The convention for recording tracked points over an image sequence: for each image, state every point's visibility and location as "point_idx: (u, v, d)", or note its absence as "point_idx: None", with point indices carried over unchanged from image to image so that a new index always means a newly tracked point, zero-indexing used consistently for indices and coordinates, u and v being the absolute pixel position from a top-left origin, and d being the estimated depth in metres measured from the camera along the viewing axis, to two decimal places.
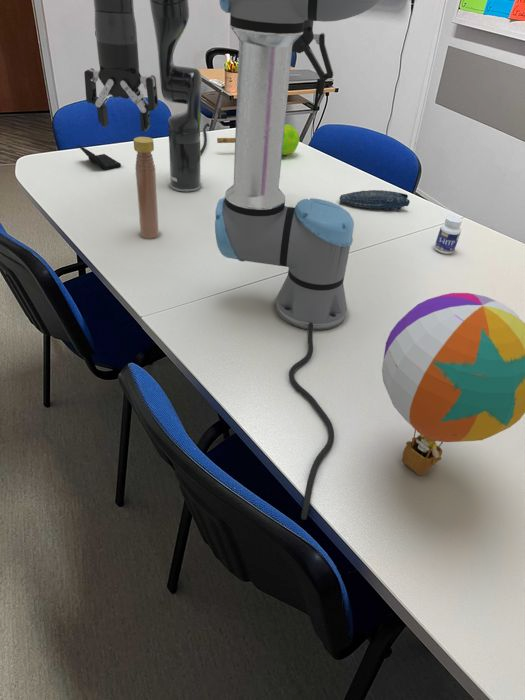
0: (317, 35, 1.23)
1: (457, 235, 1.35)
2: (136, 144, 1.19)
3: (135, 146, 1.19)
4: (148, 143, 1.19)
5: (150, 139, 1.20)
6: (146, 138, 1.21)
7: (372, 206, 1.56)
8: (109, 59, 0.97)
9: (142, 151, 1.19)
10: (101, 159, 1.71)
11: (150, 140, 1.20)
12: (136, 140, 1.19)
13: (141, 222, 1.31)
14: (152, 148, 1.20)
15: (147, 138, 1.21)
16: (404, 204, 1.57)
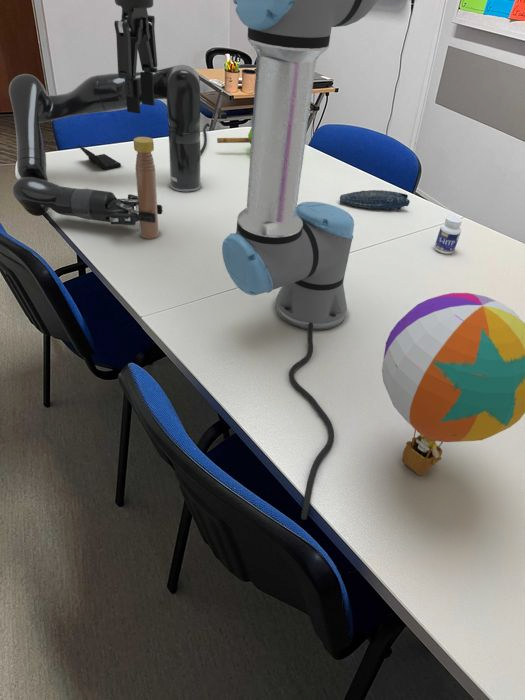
0: None
1: (457, 235, 1.35)
2: (136, 144, 1.19)
3: (135, 146, 1.19)
4: (148, 143, 1.19)
5: (150, 139, 1.20)
6: (146, 138, 1.21)
7: (372, 206, 1.56)
8: (102, 192, 1.29)
9: (142, 151, 1.19)
10: (101, 159, 1.71)
11: (150, 140, 1.20)
12: (136, 140, 1.19)
13: (141, 222, 1.31)
14: (152, 148, 1.20)
15: (147, 138, 1.21)
16: (404, 204, 1.57)
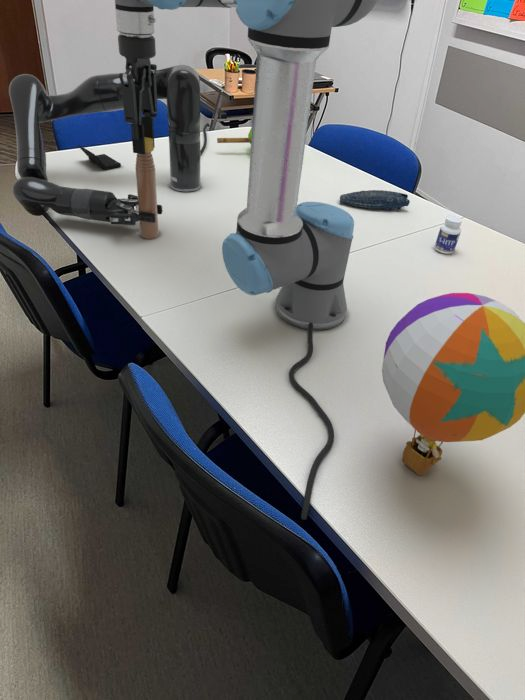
0: None
1: (457, 235, 1.35)
2: None
3: None
4: (148, 143, 1.19)
5: (150, 139, 1.20)
6: (146, 138, 1.21)
7: (372, 206, 1.56)
8: (102, 192, 1.29)
9: None
10: (101, 159, 1.71)
11: (150, 140, 1.20)
12: None
13: (141, 222, 1.31)
14: (152, 148, 1.20)
15: (147, 138, 1.21)
16: (404, 204, 1.57)
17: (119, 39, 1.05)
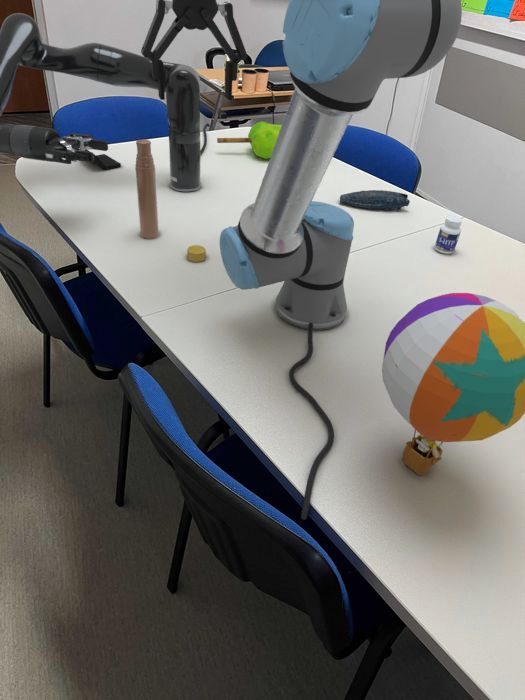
0: (222, 5, 0.96)
1: (457, 235, 1.35)
2: (205, 252, 1.26)
3: (205, 255, 1.26)
4: None
5: (190, 247, 1.26)
6: (192, 249, 1.26)
7: (372, 206, 1.56)
8: (43, 128, 1.22)
9: None
10: (101, 159, 1.71)
11: (193, 246, 1.27)
12: (203, 250, 1.26)
13: (141, 222, 1.31)
14: None
15: (191, 249, 1.26)
16: (404, 204, 1.57)
17: None
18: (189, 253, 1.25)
